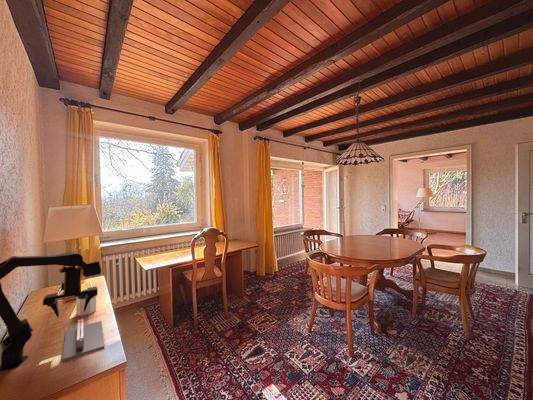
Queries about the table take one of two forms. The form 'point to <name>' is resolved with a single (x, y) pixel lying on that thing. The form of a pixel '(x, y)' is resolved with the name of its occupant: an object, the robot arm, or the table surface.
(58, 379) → the table surface
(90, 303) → the jar
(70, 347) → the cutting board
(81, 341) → the tongs fixed arm
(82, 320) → the tongs moving arm
